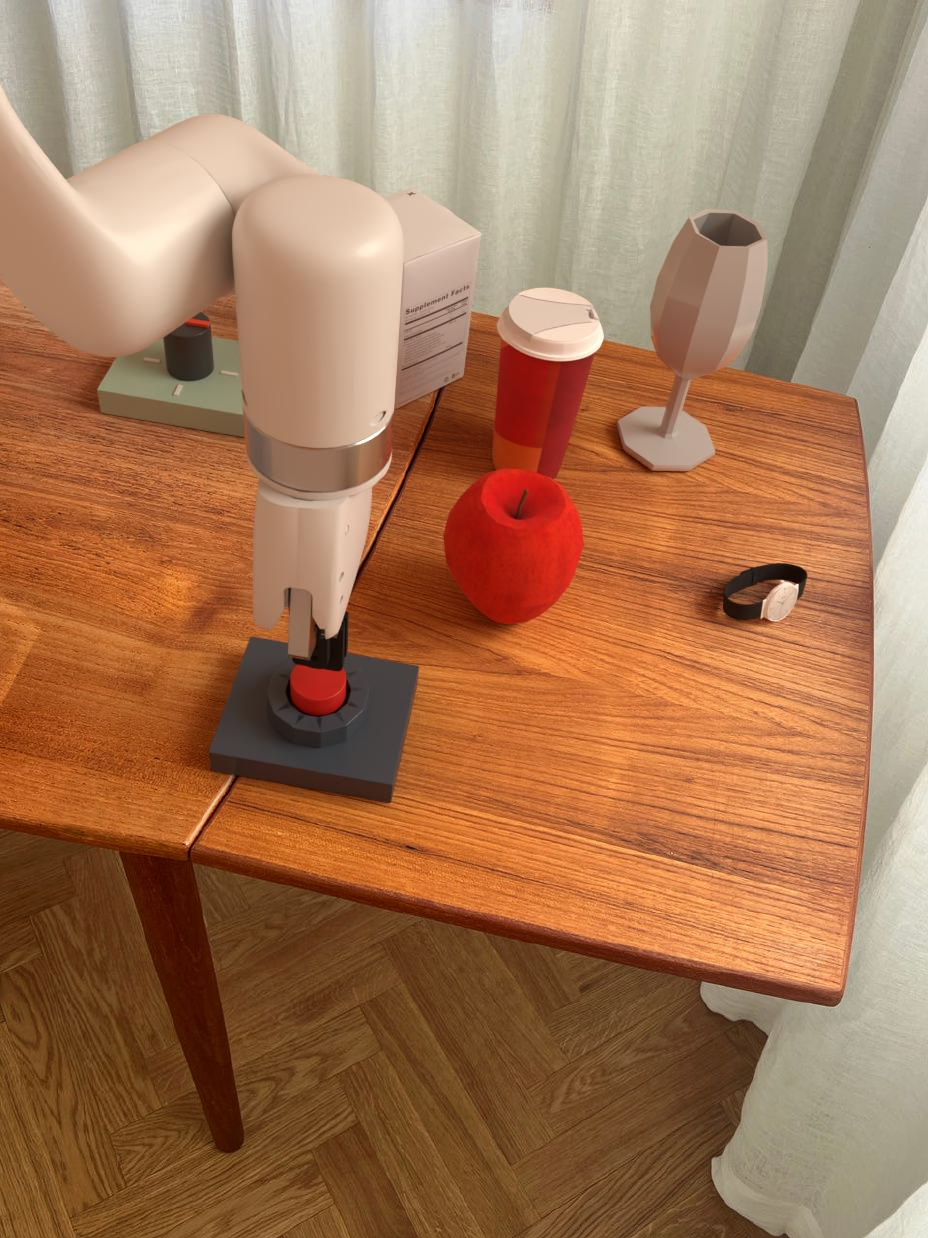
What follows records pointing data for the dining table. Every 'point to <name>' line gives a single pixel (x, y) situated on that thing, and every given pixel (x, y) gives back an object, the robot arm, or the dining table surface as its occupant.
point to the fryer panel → (176, 390)
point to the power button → (317, 689)
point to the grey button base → (316, 726)
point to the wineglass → (698, 329)
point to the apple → (513, 544)
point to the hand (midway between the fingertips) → (320, 658)
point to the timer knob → (190, 349)
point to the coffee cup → (542, 377)
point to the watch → (777, 599)
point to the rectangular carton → (433, 295)
